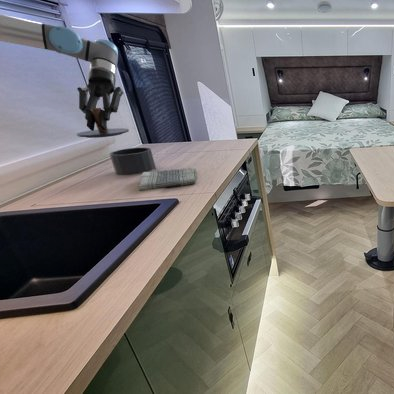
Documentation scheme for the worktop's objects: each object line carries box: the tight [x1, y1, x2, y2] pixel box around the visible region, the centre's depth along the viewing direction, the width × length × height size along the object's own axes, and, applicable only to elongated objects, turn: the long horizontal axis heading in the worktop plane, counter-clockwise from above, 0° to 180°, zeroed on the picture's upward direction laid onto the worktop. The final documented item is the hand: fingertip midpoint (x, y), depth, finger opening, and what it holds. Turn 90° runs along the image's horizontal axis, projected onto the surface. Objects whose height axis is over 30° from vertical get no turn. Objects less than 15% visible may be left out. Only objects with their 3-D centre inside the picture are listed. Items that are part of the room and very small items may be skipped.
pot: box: [109, 146, 157, 176], centre depth 120 cm, size 14×14×8 cm
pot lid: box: [76, 107, 130, 139], centre depth 102 cm, size 15×15×9 cm
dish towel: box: [137, 167, 197, 192], centre depth 108 cm, size 19×18×3 cm
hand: (96, 127), depth 99 cm, fingers closed on pot lid, 3 cm apart
